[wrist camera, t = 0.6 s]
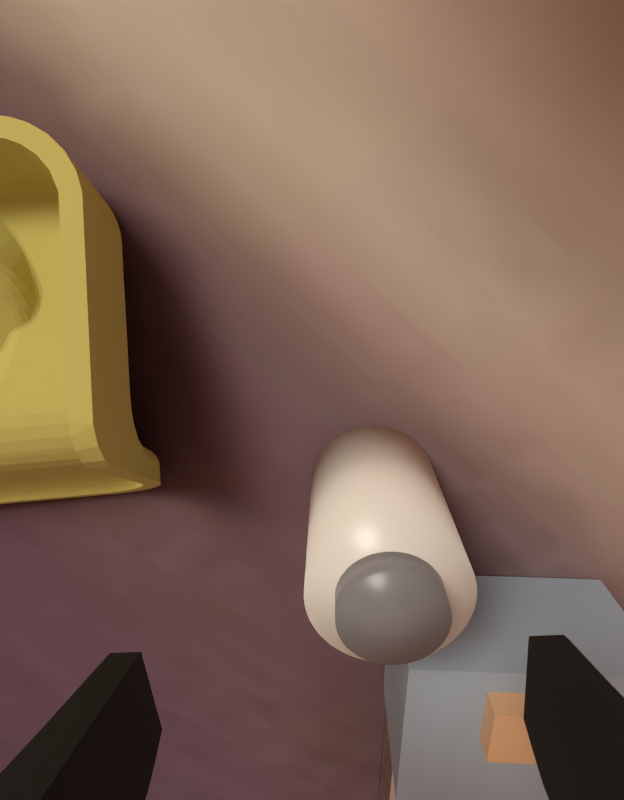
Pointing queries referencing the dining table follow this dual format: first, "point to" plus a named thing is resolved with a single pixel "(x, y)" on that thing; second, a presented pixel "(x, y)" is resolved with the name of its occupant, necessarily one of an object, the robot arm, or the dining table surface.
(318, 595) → the cream capped bottle
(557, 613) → the block
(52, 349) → the plastic component
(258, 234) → the dining table surface
